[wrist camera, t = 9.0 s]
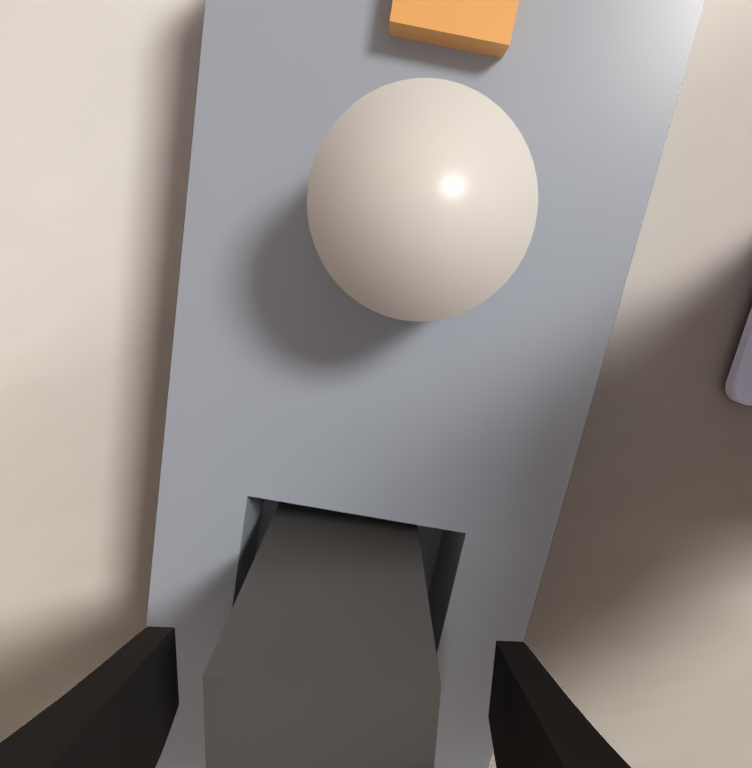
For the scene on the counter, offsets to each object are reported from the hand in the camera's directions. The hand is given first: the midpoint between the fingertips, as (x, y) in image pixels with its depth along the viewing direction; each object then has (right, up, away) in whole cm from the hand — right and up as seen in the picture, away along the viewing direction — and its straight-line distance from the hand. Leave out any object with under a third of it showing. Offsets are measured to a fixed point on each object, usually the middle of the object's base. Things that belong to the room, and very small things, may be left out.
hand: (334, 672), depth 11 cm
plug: (0, +1, +5) cm, 5 cm away
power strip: (+1, +6, +4) cm, 7 cm away
